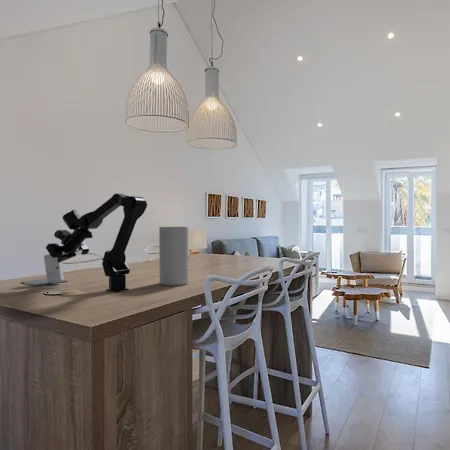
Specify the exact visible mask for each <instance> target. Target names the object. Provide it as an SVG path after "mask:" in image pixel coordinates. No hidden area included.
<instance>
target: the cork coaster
mask: <svg viewBox="0 0 450 450" xmlns="http://www.w3.org/2000/svg"><path fill="white" fill-rule="evenodd" d="M59 294H60V295H63V296H62V297H77V296H82V295H84V294H86V291H84V290H66V291H62V292H60V293H59ZM60 295H59V296H60ZM76 295H77V296H76Z"/></svg>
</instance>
